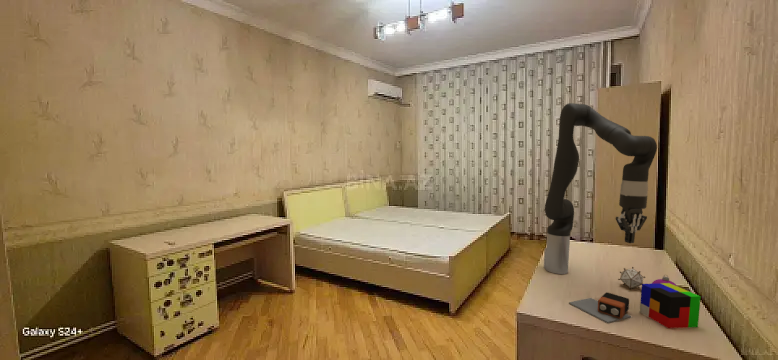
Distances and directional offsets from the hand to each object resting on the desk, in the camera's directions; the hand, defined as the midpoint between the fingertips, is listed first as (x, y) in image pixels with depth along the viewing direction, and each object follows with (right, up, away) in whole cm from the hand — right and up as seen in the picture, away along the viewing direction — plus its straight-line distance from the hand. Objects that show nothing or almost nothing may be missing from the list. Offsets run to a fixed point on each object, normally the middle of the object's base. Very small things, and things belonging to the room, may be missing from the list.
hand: (629, 242), depth 110 cm
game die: (+13, -22, +16) cm, 30 cm away
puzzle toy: (+6, -24, -8) cm, 26 cm away
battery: (-5, -20, -1) cm, 21 cm away
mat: (-12, -23, -3) cm, 26 cm away
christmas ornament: (+16, -23, +5) cm, 28 cm away
